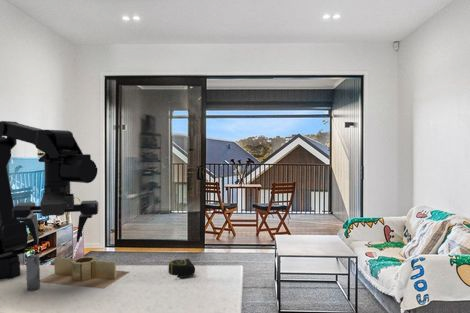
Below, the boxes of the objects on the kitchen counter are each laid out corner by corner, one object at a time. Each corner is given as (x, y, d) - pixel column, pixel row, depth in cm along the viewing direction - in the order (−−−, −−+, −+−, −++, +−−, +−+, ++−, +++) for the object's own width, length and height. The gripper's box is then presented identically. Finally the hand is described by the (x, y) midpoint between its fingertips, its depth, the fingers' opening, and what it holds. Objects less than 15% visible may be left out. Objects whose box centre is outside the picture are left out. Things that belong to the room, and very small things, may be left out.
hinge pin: (24, 294, 87) (23, 257, 87) (33, 290, 90) (32, 254, 90) (33, 295, 86) (32, 258, 86) (42, 291, 89) (41, 255, 89)
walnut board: (36, 285, 93) (36, 281, 93) (68, 270, 104) (68, 266, 104) (104, 292, 88) (103, 288, 88) (130, 275, 99) (130, 271, 99)
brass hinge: (46, 278, 95) (46, 261, 95) (63, 270, 101) (63, 254, 101) (108, 283, 91) (108, 266, 91) (121, 275, 97) (121, 258, 97)
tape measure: (195, 278, 97) (195, 264, 97) (170, 281, 95) (170, 267, 95) (191, 269, 104) (190, 257, 104) (167, 272, 101) (167, 259, 101)
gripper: (4, 185, 78) (4, 256, 78) (96, 183, 84) (96, 249, 84) (17, 180, 88) (18, 242, 89) (98, 178, 94) (98, 237, 95)
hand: (57, 243), depth 89 cm, fingers open, 9 cm apart
